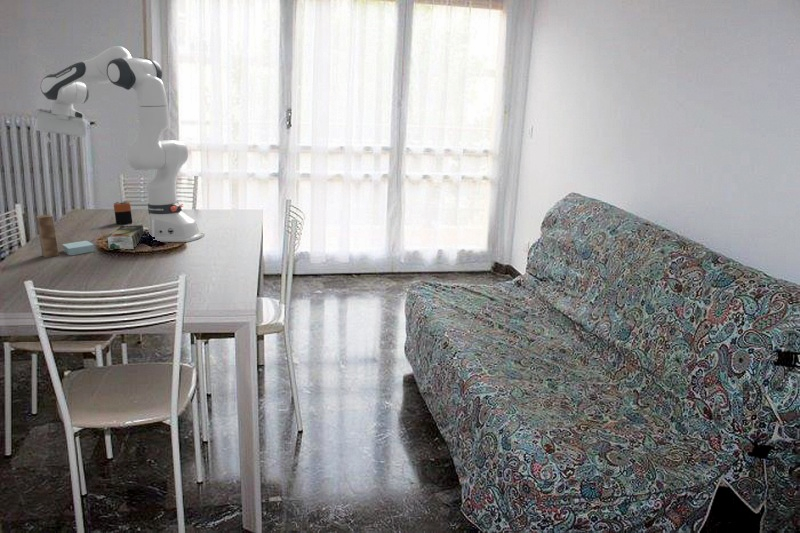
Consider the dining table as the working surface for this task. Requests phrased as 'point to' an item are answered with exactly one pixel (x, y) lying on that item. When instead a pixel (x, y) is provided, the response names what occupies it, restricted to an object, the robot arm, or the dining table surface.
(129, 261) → the dining table surface
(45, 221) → the walnut post
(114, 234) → the juice carton
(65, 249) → the teal block
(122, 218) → the battery
